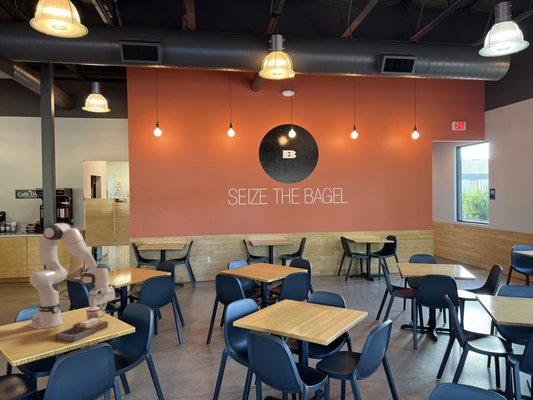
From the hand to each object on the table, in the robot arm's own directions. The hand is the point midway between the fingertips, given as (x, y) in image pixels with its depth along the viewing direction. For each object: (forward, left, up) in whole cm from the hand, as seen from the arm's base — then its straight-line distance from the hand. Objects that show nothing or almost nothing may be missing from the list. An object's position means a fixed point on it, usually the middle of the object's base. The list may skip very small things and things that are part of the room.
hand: (103, 309), depth 255 cm
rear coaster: (-1, -8, -7) cm, 10 cm away
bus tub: (-1, -24, -11) cm, 26 cm away
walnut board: (-1, -10, -11) cm, 15 cm away
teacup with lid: (-12, +5, -11) cm, 17 cm away
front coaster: (-1, -14, -7) cm, 15 cm away
